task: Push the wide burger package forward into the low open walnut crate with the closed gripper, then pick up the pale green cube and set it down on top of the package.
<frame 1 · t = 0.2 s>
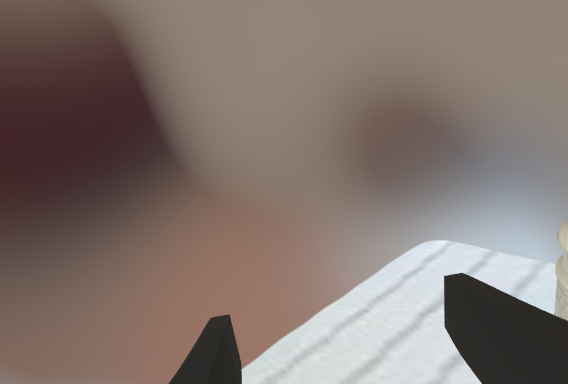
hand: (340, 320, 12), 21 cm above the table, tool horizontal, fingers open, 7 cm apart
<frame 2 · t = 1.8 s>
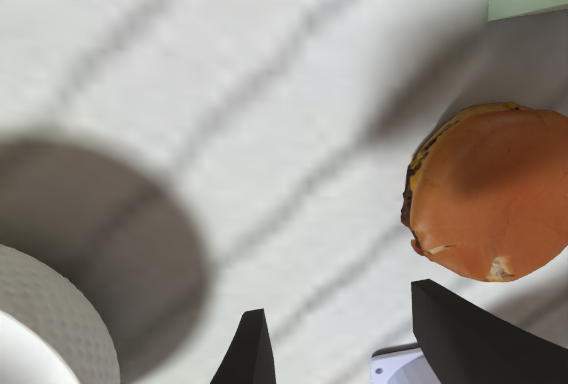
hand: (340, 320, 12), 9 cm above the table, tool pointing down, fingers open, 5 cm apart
cereal bowl: (5, 325, 22), on the table
burger: (469, 182, 21), on the table
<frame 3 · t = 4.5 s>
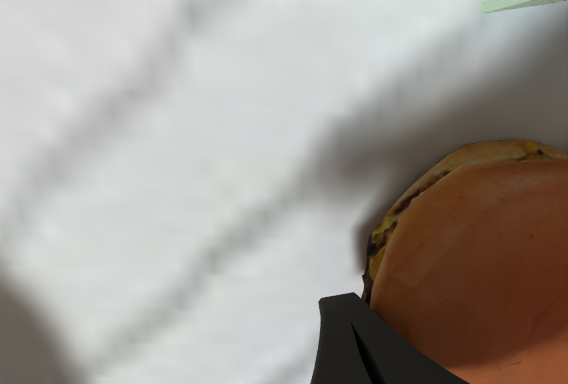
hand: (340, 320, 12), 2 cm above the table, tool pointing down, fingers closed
burger: (464, 252, 14), on the table, touching gripper
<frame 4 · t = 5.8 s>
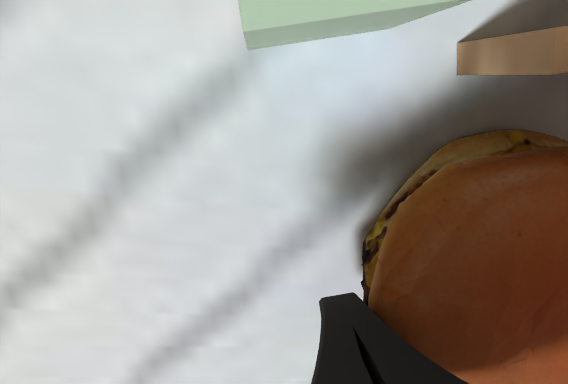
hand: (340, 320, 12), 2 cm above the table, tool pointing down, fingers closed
burger: (465, 246, 14), on the table, touching gripper
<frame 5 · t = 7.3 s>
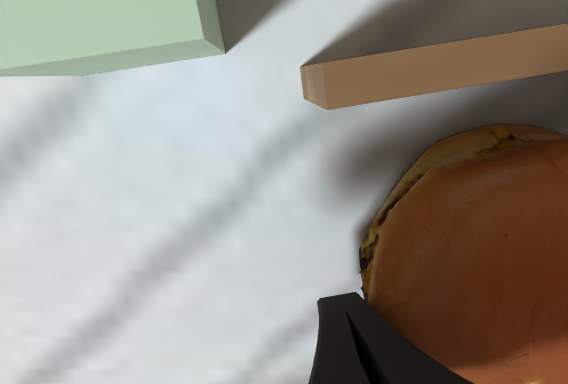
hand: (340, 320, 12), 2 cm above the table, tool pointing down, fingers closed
burger: (463, 242, 14), on the table, touching gripper
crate: (500, 249, 14), on the table
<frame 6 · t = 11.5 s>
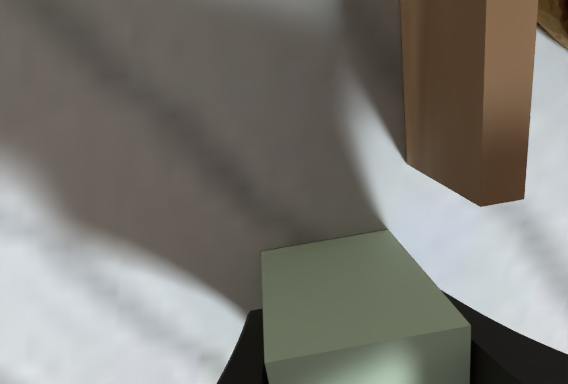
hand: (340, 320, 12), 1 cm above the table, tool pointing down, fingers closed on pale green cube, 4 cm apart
pale green cube: (331, 295, 13), on the table, touching gripper
when the fingers open (7 cm above the table, at t = 14.5 s): pale green cube drops 2 cm, resting on burger.
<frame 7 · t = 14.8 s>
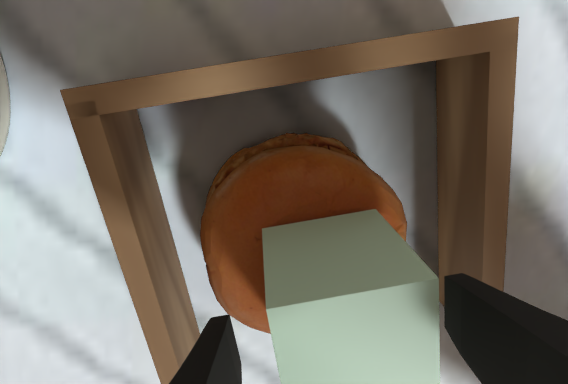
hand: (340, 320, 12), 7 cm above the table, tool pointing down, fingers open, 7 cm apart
burger: (298, 219, 19), on the table, touching pale green cube
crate: (305, 210, 18), on the table
pale green cube: (325, 268, 14), point 4 cm above the table, touching burger
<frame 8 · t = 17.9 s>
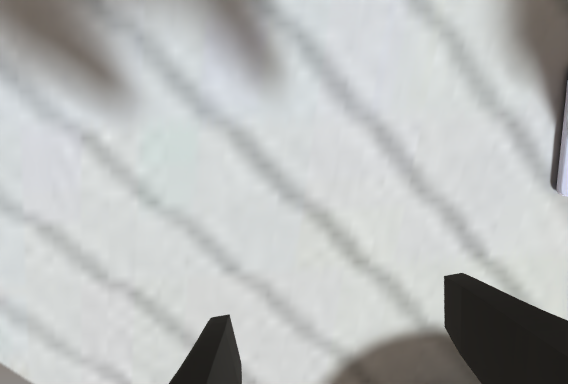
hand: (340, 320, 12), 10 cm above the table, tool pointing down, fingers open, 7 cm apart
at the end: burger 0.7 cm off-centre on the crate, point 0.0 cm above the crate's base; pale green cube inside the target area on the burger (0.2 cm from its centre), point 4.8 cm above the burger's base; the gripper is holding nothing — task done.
